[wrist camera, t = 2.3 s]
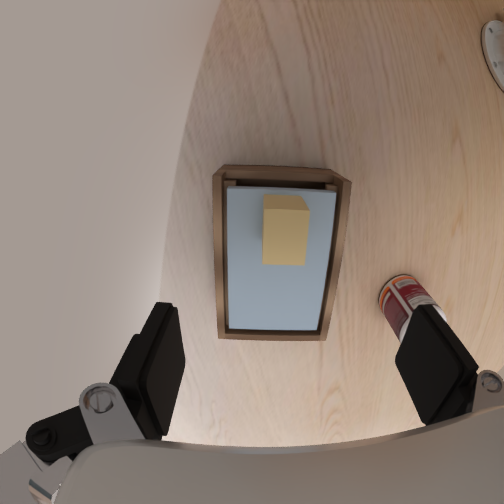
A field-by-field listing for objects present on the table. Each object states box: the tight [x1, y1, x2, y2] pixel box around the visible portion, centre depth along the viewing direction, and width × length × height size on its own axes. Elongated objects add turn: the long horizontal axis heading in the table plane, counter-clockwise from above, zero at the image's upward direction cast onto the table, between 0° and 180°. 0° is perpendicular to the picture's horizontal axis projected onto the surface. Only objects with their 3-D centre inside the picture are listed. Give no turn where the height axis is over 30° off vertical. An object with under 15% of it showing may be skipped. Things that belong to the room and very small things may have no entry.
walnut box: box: [213, 165, 352, 341], centre depth 28 cm, size 16×11×7 cm
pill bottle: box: [379, 275, 446, 343], centre depth 29 cm, size 6×6×11 cm
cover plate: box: [227, 186, 336, 330], centre depth 24 cm, size 14×9×5 cm, turn 179°
